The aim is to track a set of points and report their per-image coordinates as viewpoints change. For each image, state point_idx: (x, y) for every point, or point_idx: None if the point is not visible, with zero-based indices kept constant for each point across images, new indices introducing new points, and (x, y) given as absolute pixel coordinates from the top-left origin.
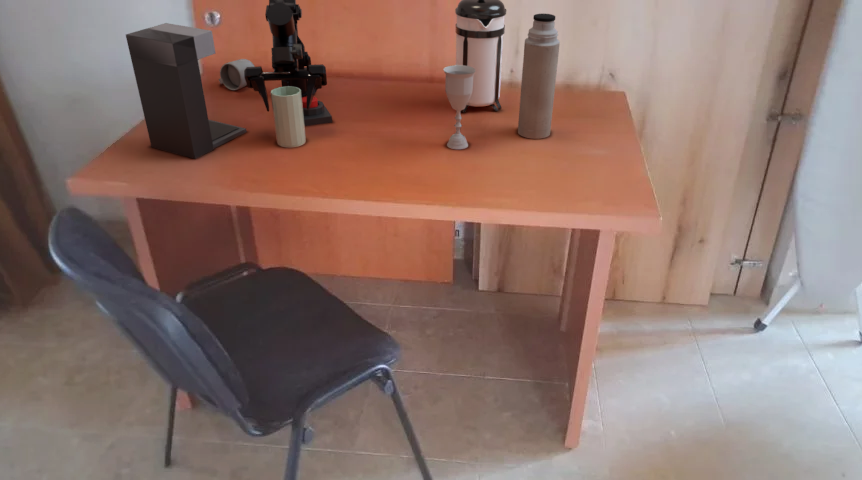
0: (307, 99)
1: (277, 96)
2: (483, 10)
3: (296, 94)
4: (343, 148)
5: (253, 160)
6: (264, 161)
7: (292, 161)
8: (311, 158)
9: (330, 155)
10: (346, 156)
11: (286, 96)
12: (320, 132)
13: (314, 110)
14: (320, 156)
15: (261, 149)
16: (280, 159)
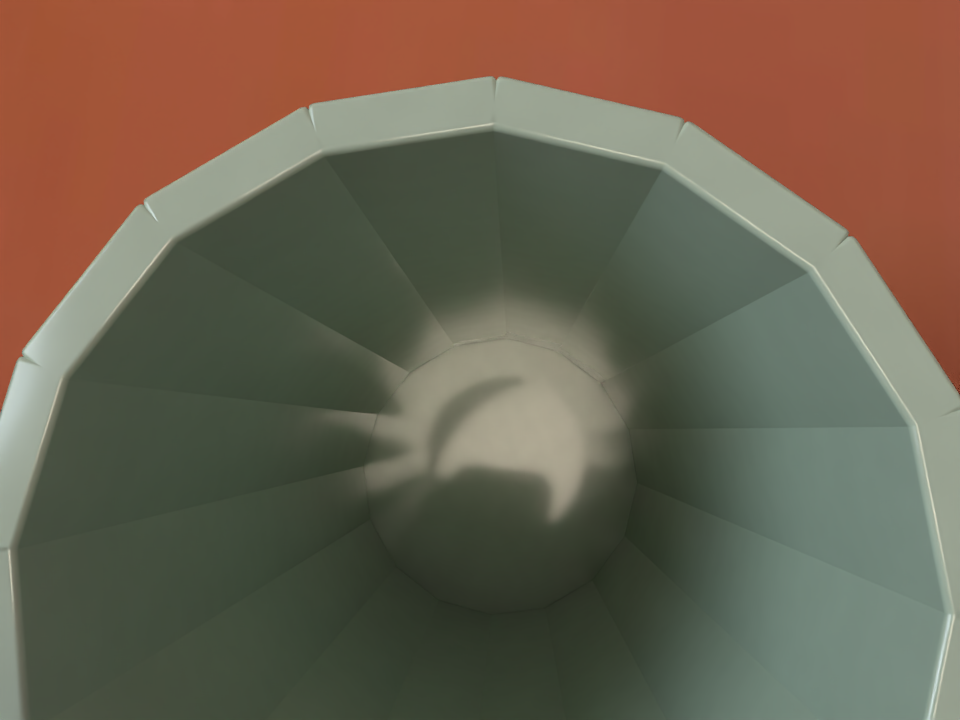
0: None
1: (771, 192)
2: None
3: (164, 189)
4: (36, 197)
5: (891, 117)
6: (787, 72)
7: (531, 16)
8: (356, 42)
9: (180, 69)
10: (47, 16)
11: (490, 80)
12: None
13: None
14: (270, 67)
15: None
16: (637, 83)
